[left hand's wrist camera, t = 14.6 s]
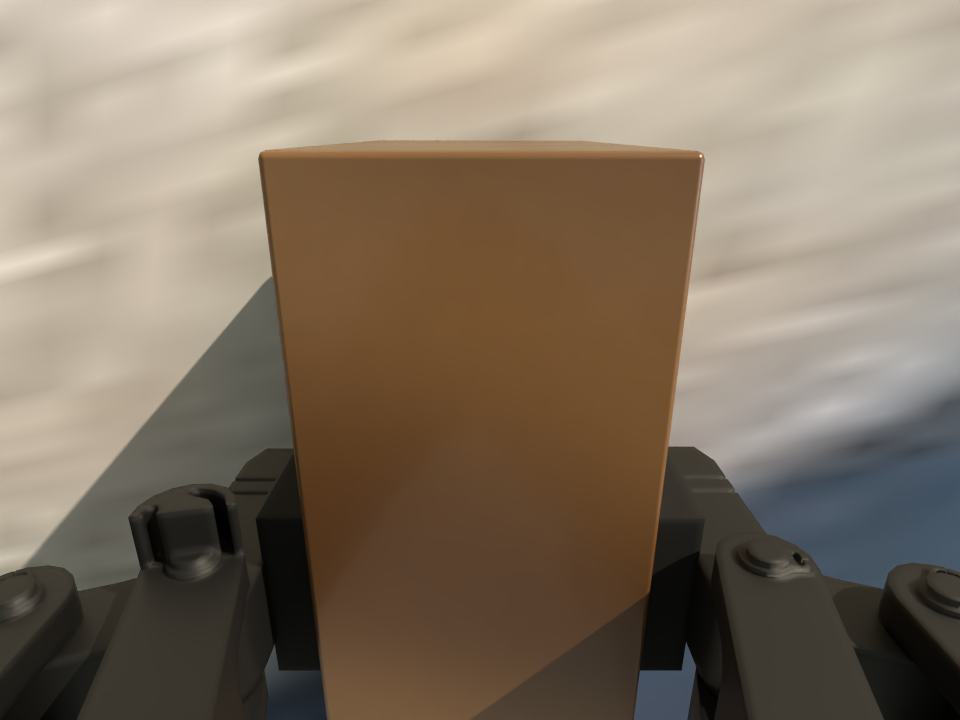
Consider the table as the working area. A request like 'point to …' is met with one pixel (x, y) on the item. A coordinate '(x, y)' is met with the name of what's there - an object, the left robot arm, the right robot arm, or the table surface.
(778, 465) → the table surface
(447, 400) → the beam
